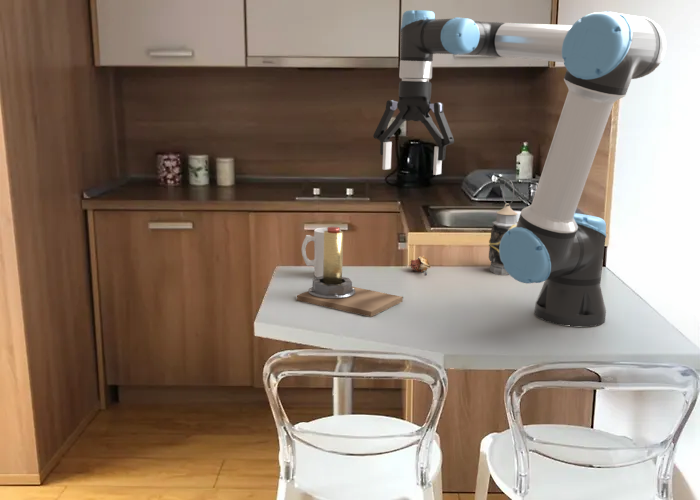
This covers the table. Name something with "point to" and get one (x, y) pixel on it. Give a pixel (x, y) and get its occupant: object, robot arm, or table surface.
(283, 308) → the table surface
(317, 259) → the mug
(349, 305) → the board
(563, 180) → the robot arm
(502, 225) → the lantern
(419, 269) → the figurine
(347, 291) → the flange socket
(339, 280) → the gold cylinder
